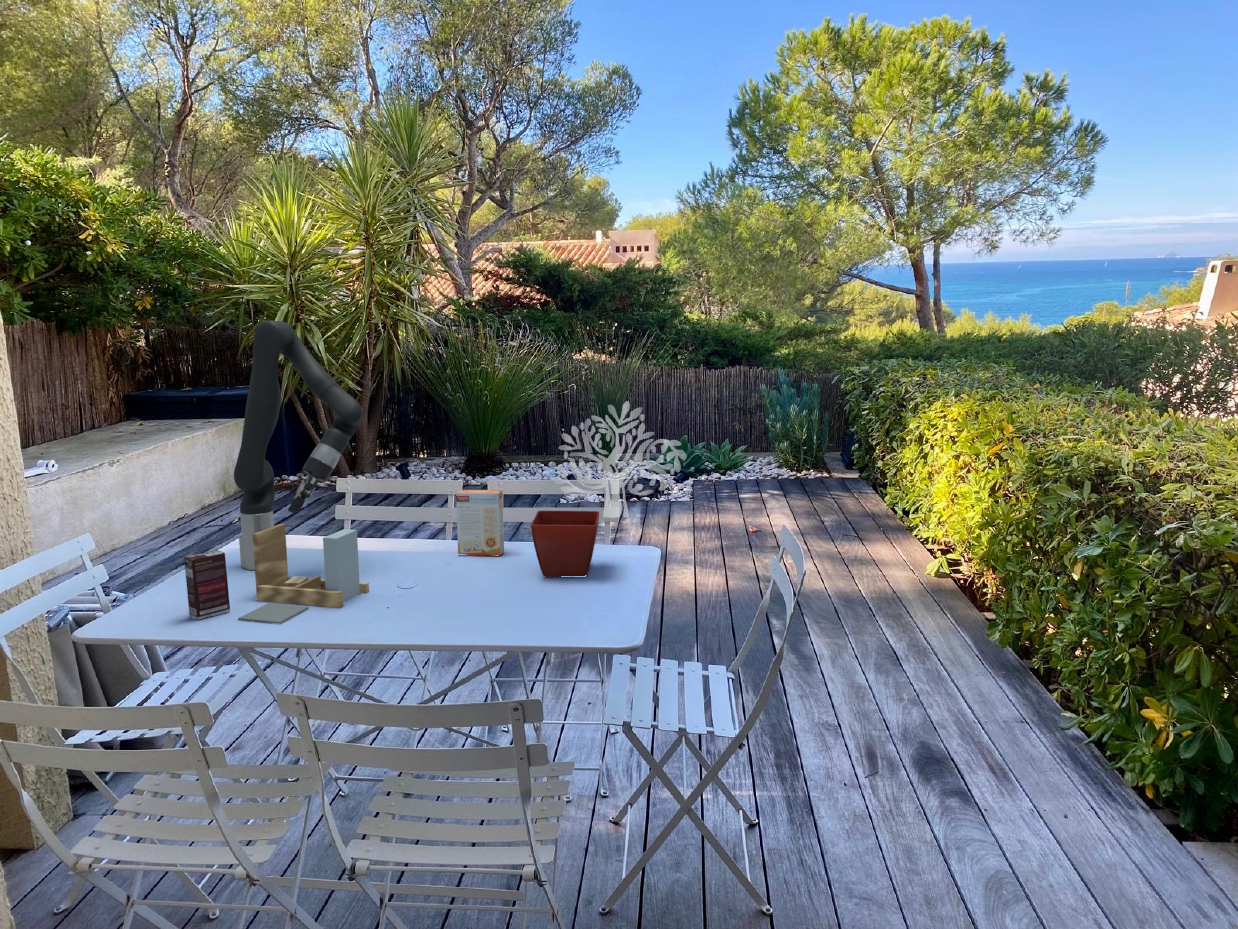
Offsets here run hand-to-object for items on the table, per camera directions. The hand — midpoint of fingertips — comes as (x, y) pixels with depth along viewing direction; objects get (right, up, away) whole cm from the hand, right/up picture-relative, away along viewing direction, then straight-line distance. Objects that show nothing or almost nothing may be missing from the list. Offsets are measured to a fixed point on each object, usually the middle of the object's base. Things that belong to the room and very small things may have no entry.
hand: (292, 511), depth 243 cm
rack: (+9, -23, -10) cm, 26 cm away
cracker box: (+48, -16, +34) cm, 61 cm away
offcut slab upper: (+4, -20, -8) cm, 22 cm away
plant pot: (+77, -19, +14) cm, 81 cm away
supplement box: (-12, -25, -25) cm, 37 cm away
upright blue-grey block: (+18, -23, -12) cm, 32 cm away
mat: (+5, -25, -25) cm, 35 cm away
